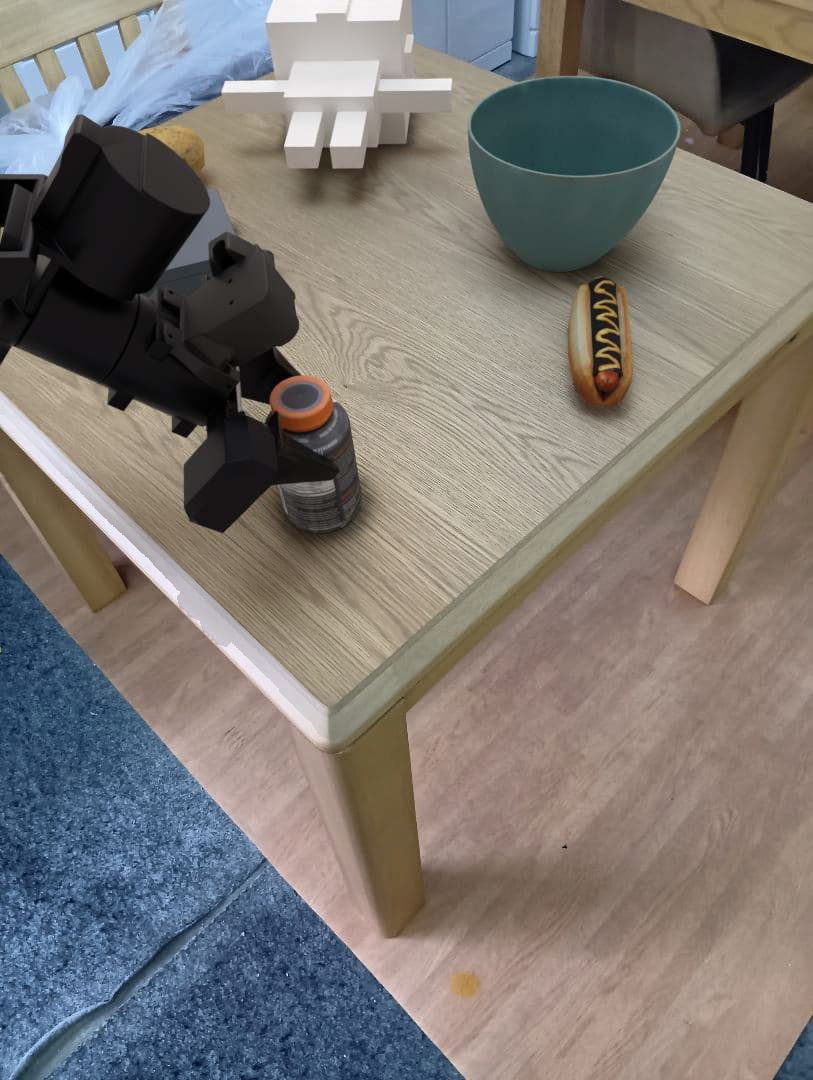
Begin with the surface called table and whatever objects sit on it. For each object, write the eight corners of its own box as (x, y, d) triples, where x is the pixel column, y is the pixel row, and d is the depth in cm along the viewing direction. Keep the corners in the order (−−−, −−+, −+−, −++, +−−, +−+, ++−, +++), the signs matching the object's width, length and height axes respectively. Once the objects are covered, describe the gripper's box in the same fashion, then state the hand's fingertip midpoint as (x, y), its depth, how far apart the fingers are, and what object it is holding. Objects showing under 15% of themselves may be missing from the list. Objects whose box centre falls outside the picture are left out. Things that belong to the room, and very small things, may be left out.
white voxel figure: (222, 220, 87) (265, 83, 102) (446, 221, 85) (458, 81, 100) (183, 84, 75) (239, -50, 89) (445, 81, 72) (458, -55, 87)
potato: (209, 200, 86) (194, 143, 81) (108, 208, 86) (87, 151, 81) (214, 168, 90) (200, 112, 85) (118, 176, 90) (98, 120, 85)
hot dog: (565, 420, 64) (572, 373, 60) (563, 316, 72) (570, 268, 68) (627, 423, 63) (639, 376, 59) (619, 318, 71) (629, 270, 67)
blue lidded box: (107, 329, 74) (89, 288, 70) (93, 260, 80) (76, 219, 77) (252, 292, 76) (242, 251, 72) (226, 228, 83) (216, 187, 79)
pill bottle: (327, 463, 62) (306, 350, 53) (378, 503, 60) (365, 391, 50) (268, 506, 60) (235, 395, 51) (318, 549, 57) (293, 441, 48)
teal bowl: (519, 181, 86) (528, 59, 76) (680, 226, 79) (712, 99, 69) (431, 268, 77) (428, 143, 67) (604, 327, 70) (628, 198, 61)
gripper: (190, 348, 35) (436, 473, 45) (188, 145, 46) (385, 280, 56) (79, 490, 41) (317, 573, 51) (100, 279, 52) (293, 380, 62)
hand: (330, 441), depth 55 cm, fingers closed on pill bottle, 6 cm apart
